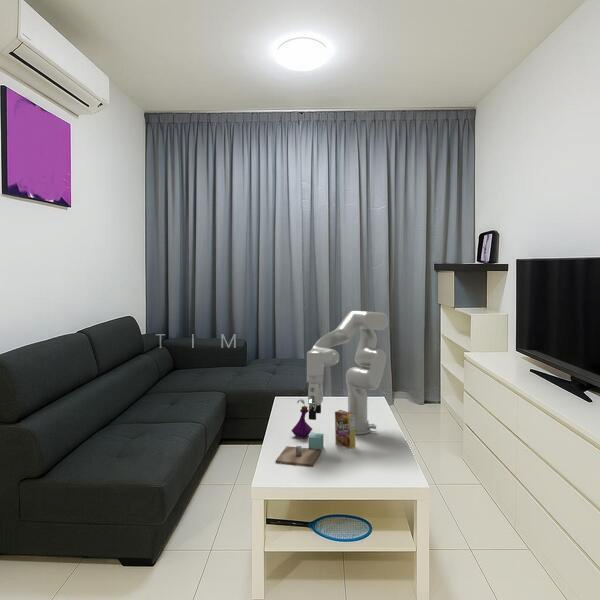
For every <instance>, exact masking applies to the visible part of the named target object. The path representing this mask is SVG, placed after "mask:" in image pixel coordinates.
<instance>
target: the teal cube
mask: <svg viewBox="0 0 600 600" xmlns="http://www.w3.org/2000/svg"><path fill="white" fill-rule="evenodd" d="M307 437H308V448H311V449H321V451H322V450H323V448H324V446H325V445H324V433H321V432H320V433H319V432H310V433H309V435H308V436H307Z"/></svg>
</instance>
